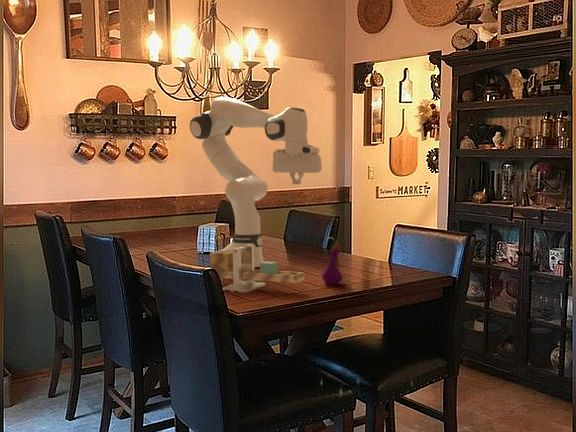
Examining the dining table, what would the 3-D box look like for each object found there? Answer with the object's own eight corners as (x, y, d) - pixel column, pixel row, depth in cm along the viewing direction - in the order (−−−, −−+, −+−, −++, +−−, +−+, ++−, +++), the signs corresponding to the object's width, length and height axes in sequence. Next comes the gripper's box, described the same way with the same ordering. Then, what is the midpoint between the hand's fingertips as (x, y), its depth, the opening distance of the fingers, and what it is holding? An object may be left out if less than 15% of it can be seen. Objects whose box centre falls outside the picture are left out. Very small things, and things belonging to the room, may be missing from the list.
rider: (260, 276, 238) (259, 263, 238) (265, 274, 242) (265, 261, 241) (272, 277, 236) (271, 263, 236) (277, 275, 240) (277, 261, 239)
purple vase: (340, 282, 253) (340, 235, 251) (342, 286, 245) (342, 238, 243) (321, 282, 252) (320, 236, 251) (322, 286, 245) (322, 238, 243)
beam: (210, 277, 247) (209, 251, 246) (220, 274, 253) (219, 249, 252) (296, 283, 231) (295, 255, 230) (304, 279, 236) (303, 252, 235)
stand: (222, 290, 241) (221, 248, 239) (242, 283, 253) (242, 243, 252) (246, 292, 236) (245, 250, 235) (265, 285, 248) (264, 244, 247)
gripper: (269, 149, 260) (269, 184, 262) (316, 148, 251) (316, 185, 252) (276, 149, 266) (277, 183, 267) (323, 148, 256) (323, 184, 258)
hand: (296, 184), depth 259 cm, fingers closed
